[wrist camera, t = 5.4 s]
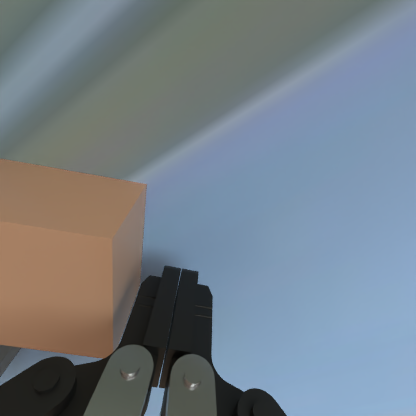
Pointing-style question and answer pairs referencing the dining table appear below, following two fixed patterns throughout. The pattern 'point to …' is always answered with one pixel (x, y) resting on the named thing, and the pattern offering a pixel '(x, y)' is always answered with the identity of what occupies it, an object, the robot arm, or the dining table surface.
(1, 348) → the box
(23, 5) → the dining table surface
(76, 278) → the tan square block
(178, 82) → the dining table surface
